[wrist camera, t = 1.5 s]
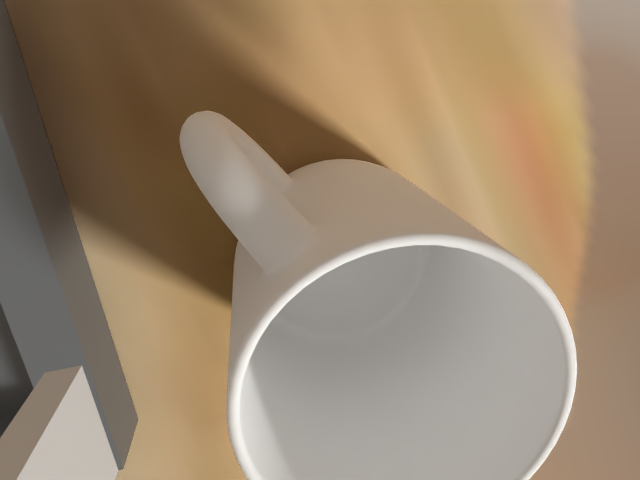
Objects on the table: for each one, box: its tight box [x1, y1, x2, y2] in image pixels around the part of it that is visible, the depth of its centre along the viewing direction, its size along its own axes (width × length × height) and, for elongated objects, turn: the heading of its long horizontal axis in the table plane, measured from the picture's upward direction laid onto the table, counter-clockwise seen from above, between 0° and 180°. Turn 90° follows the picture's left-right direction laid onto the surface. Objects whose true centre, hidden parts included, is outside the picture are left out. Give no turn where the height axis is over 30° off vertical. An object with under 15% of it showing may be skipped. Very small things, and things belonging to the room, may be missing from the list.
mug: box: [179, 110, 577, 480], centre depth 17 cm, size 12×8×10 cm
